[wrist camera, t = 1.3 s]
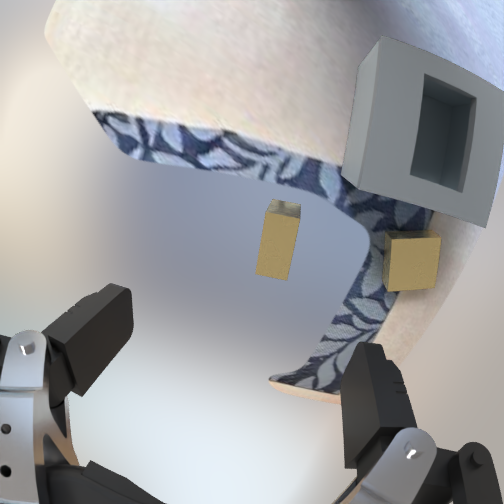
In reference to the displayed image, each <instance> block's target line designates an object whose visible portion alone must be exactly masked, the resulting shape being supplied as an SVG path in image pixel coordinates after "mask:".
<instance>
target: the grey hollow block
mask: <svg viewBox="0 0 504 504" xmlns="http://www.w3.org/2000/svg"><path fill="white" fill-rule="evenodd" d="M503 145H504V91H502V90H500V89H499V88H497V87H496V86H494V85H492V84H491V83H489V82H487V81H486V80H484V79H482V78H480V77H479V76H477V75H475V74H473V73H471V72H470V71H468V70H466V69H464V68H462V67H460V66H458V65H456V64H454V63H452V62H450V61H448V60H445V59H443V58H441V57H439V56H437V55H434V54H432V53H430V52H427V51H425V50H422V49H420V48H417V47H415V46H412V45H409V44H407V43H404V42H401V41H398V40H395V39H392V38H389V37H386V36H383V35H382V36H381V38H380V39H379V40H378V41H377V43H376V44H375V45H374V47H373V48H372V49H371V51H370V52H369V53H368V55H367V56H366V57H365V59H364V60H363V61H362V63H361V64H360V65H359V67H358V73H357V81H356V88H355V95H354V102H353V109H352V115H351V121H350V127H349V133H348V139H347V144H346V150H345V155H344V161H343V166H342V171H341V175H342V176H343V177H344V178H345V179H347V180H348V181H349V182H350V183H352V184H353V185H354V186H355V187H356V188H358V189H359V190H362V191H366V192H370V193H374V194H378V195H382V196H386V197H389V198H393V199H397V200H400V201H404V202H407V203H411V204H414V205H417V206H421V207H424V208H427V209H431V210H434V211H437V212H440V213H443V214H446V215H449V216H452V217H455V218H458V219H461V220H464V221H467V222H470V223H473V224H475V225H478V226H481V227H484V228H486V225H487V221H488V218H489V214H490V211H491V207H492V203H493V199H494V194H495V190H496V186H497V181H498V176H499V171H500V165H501V159H502V152H503Z"/></svg>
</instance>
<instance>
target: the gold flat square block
mask: <svg viewBox="0 0 504 504" xmlns="http://www.w3.org/2000/svg"><path fill="white" fill-rule="evenodd" d="M300 206H301V205H300V204H296V203H291V202H286V201H280V200H275V199H272V201H271V203H270V205H269V207H268V209H267V211H266V214H265V220H264V226H263V232H262V238H261V243H260V249H259V255H258V261H257V267H256V274H258V275H262V276H268V277H272V278H277V279H282V280H287V278H288V273H289V268H290V264H291V260H292V255H293V250H294V246H295V241H296V236H297V231H298V227H299V222H300V210H301V209H300V208H301V207H300Z"/></svg>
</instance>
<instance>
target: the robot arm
mask: <svg viewBox="0 0 504 504" xmlns="http://www.w3.org/2000/svg"><path fill="white" fill-rule="evenodd" d="M133 326H134V323H133V309H132V294H131V291H130V289H128V288H125V287H122V286H119V285H115V284H112V283H110V284H108V285H107V286H106V287H104V288H103V289H102V290H100V291H99V292H98V293H97V292H96V293H93V294H91V295H88V296H86V297H84V298H82V299H81V300H80V301H79V302H77V303H76V304H75V306H72V307H71V308H70V309H69V310H68V312H65V313H64V314H62V315H61V316H60V317H59V318H58V319H56V320H55V321H54V322H53V323H52V324H50V325H49V326H48V327H47V328H46V329H45V330H43V331H42V332H41V333H40V332H38V331H34V330H26V331H22V332H19V333H17V334H16V335H15V336H13V337H12V338H11V337H7V336H3V335H0V504H165V503H163V502H161V501H160V500H158V499H157V498H155V497H153V496H151V495H150V494H149V493H147V492H146V491H144V490H143V489H141V488H140V487H138V486H137V485H135V484H134V483H133V482H131V481H130V480H129V479H127V478H125V477H123V476H121V475H119V474H117V473H115V472H113V471H111V470H108V469H106V468H104V467H103V466H101V465H99V464H96V463H95V462H93V461H91V460H90V462H89V463H88V465H87V466H86V467H82V466H79V462H78V459H77V456H76V454H75V451H74V448H73V445H72V438H71V429H70V419H69V404H68V398H67V395H68V394H69V393H70V391H72V392H74V393H76V394H78V395H79V396H81V397H82V396H83V395H84V394H85V393H86V392H87V390H88V389H89V388H90V387H91V385H92V384H93V383H94V382H95V380H96V379H97V378H98V377H99V375H100V374H101V373H102V372H103V370H104V369H105V368H106V367H107V366H108V364H109V363H110V362H111V361H112V359H113V358H114V357H115V356H116V354H117V353H118V352H119V351H120V350H121V348H122V347H123V346H124V345H125V344H126V343H127V341H128V340H129V339H130V337H131V335H132V332H133ZM340 394H341V406H342V419H343V435H344V458H345V468H347V469H348V468H349V469H357V477H355V478H354V480H353V481H352V482H351V483H350V484H349V485H348V486H347V488H346V489H345V490H344V491H343V492H342V493H341V494H340V495H339V496H338V498H337V499H336V500H335V501H334V502H333V503H332V504H449V503H451V502H452V501H453V504H503V502H502V497H501V492H500V488H499V483H498V479H497V475H496V471H495V468H494V464H493V460H492V457H491V454H490V452H489V451H488V449H487V448H486V447H485V446H483V445H482V444H480V443H477V442H470V443H467V444H465V445H464V446H463V447H462V448H461V449H460V450H459V451H458V452H455V451H450V450H446V449H441V448H437V447H436V444H435V442H434V440H433V439H432V437H431V436H430V435H429V434H428V433H427V432H425V431H423V430H421V429H418V428H417V424H416V420H415V417H414V414H413V410H412V407H411V403H410V400H409V396H408V394H407V390H406V387H405V385H404V381H403V378H402V374H401V371H400V370H399V369H398V367H397V366H396V365H395V364H394V363H393V361H392V360H386V357H385V353H384V350H383V347H382V345H381V344H375V343H368V342H359V343H358V344H357V346H356V348H355V350H354V353H353V355H352V357H351V359H350V361H349V363H348V366H347V368H346V370H345V372H344V374H343V377H342V380H341V386H340Z"/></svg>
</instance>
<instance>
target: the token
mask: <svg viewBox="0 0 504 504" xmlns="http://www.w3.org/2000/svg"><path fill="white" fill-rule="evenodd" d="M440 246H441V237H440V236H439V235H438V234H436V233H435V232H434V231H432V230H416V231H386V232H385V246H384V264H383V277H382V281H383V283H384V285H385V287H386V289H387V291H388V292H390V291H404V290H417V289H428V288H435V282H436V276H437V270H438V262H439V255H440Z"/></svg>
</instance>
